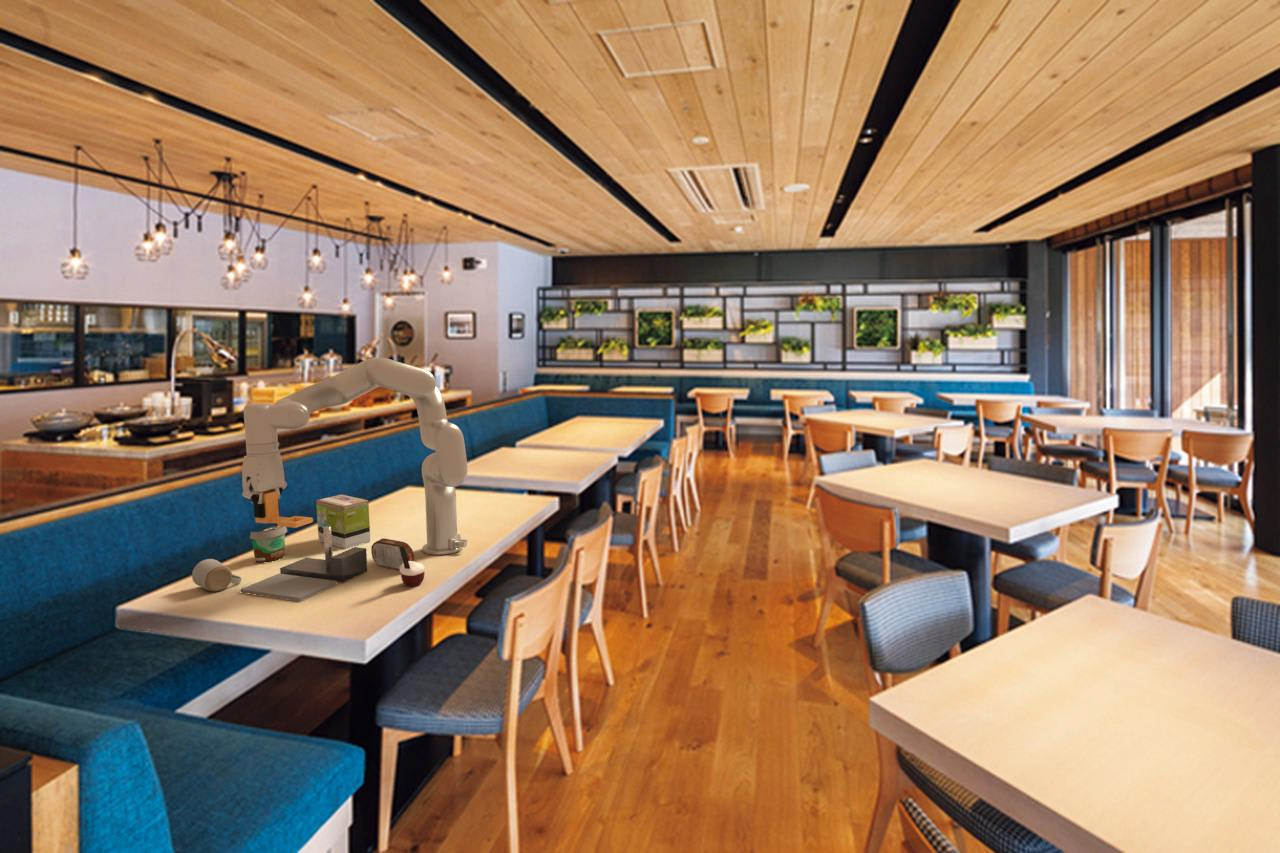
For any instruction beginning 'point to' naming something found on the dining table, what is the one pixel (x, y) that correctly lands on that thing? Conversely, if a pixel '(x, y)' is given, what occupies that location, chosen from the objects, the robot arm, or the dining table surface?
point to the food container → (269, 544)
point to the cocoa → (411, 570)
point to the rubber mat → (289, 587)
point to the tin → (390, 553)
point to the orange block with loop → (273, 513)
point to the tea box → (344, 520)
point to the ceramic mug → (213, 575)
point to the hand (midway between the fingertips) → (267, 514)
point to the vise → (330, 563)
